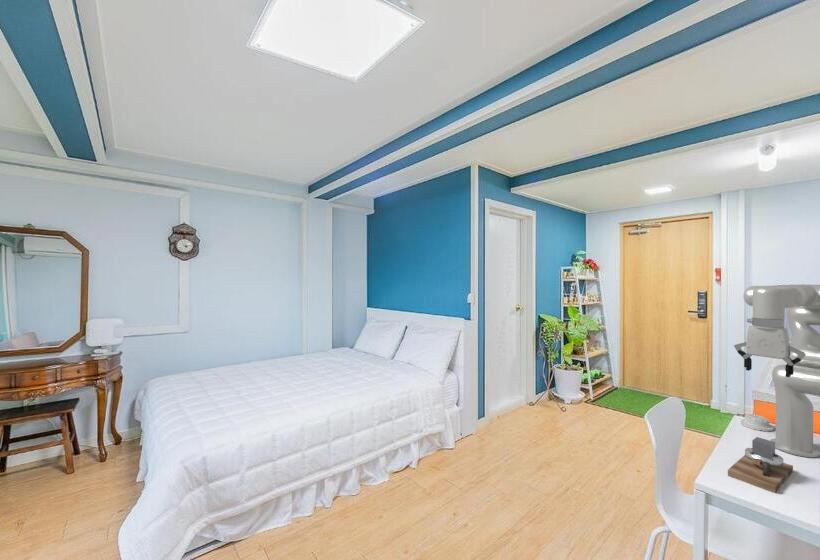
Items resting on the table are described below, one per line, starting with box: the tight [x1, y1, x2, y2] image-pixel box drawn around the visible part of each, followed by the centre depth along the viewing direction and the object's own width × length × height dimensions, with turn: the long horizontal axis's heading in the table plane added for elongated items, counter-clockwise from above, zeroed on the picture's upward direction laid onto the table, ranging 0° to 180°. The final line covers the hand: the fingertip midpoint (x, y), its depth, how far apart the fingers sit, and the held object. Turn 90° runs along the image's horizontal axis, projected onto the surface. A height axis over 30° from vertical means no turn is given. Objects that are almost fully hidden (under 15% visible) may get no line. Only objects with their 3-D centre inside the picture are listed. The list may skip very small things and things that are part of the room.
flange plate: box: [744, 436, 785, 467], centre depth 115 cm, size 11×9×6 cm
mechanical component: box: [740, 413, 774, 432], centre depth 150 cm, size 10×4×10 cm
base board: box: [727, 454, 794, 494], centre depth 115 cm, size 21×11×6 cm, turn 122°
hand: (767, 373), depth 119 cm, fingers open, 9 cm apart
